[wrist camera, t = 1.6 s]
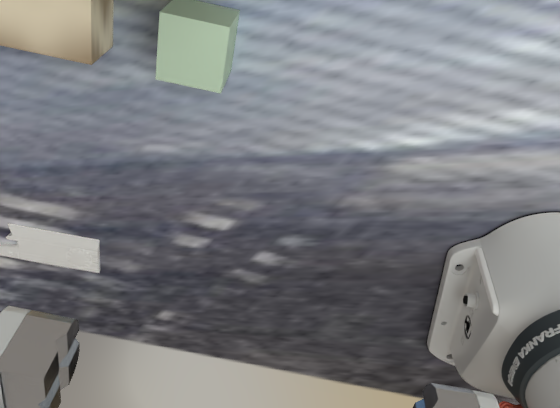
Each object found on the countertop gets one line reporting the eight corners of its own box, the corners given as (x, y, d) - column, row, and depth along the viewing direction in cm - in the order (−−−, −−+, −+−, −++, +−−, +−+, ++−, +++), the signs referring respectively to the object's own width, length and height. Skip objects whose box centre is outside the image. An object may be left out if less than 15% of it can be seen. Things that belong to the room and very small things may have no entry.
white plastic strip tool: (-42, 206, 54) (-49, 212, 53) (101, 232, 55) (97, 239, 54) (-35, 244, 57) (-41, 250, 56) (101, 269, 57) (98, 275, 56)
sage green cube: (231, 70, 43) (220, 93, 39) (172, 58, 43) (155, 79, 39) (239, 10, 40) (230, 27, 36) (176, -4, 40) (159, 11, 36)
